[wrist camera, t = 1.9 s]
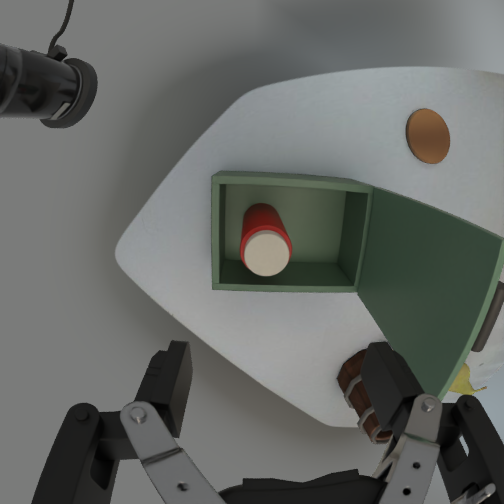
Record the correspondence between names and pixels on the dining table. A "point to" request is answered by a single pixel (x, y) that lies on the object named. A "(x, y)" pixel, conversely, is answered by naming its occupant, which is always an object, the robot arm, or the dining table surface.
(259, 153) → the dining table surface
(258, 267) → the sauce bottle
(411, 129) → the disc
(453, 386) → the fruit
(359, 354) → the mug
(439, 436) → the robot arm
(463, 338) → the chest lid
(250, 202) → the chest
